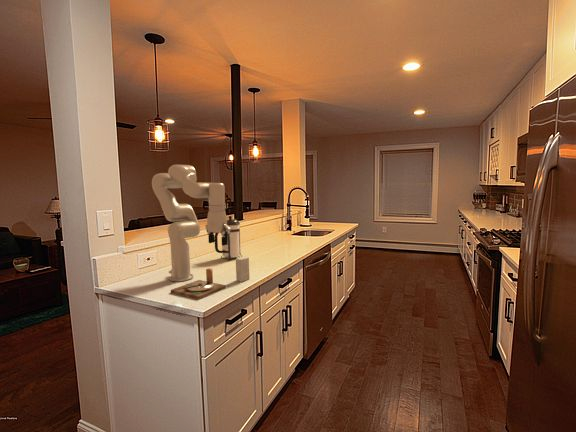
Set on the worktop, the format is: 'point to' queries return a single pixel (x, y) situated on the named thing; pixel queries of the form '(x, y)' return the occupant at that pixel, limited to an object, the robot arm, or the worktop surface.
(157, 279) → the worktop surface
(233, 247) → the coffee press
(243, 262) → the skincare box
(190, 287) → the dial
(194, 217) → the robot arm
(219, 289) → the dial plate
